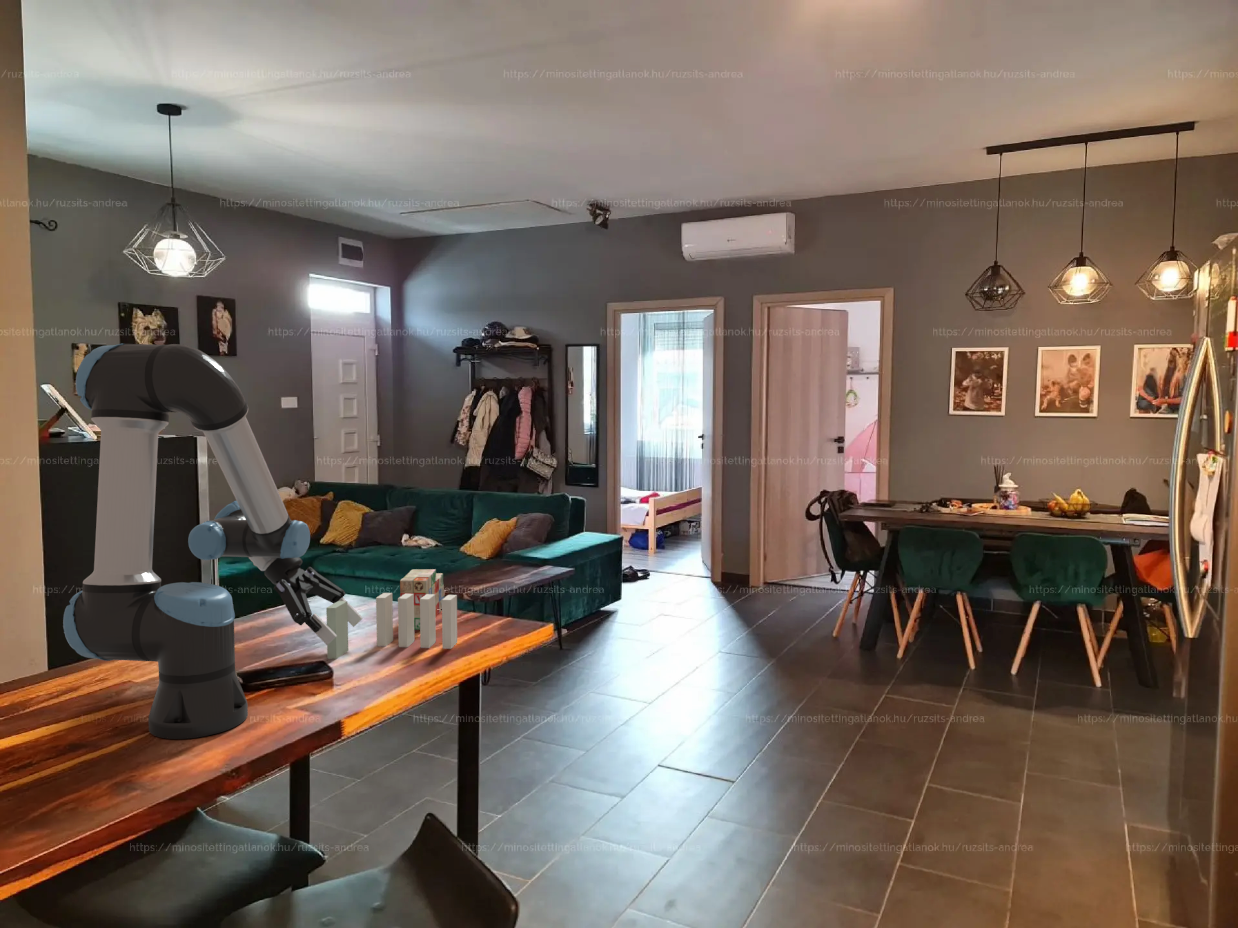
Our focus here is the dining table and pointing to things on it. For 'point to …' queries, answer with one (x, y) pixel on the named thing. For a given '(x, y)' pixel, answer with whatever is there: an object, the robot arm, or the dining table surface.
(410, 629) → the domino
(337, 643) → the sage domino
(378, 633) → the domino
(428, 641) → the domino
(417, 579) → the stack of blocks
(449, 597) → the domino
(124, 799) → the dining table surface
